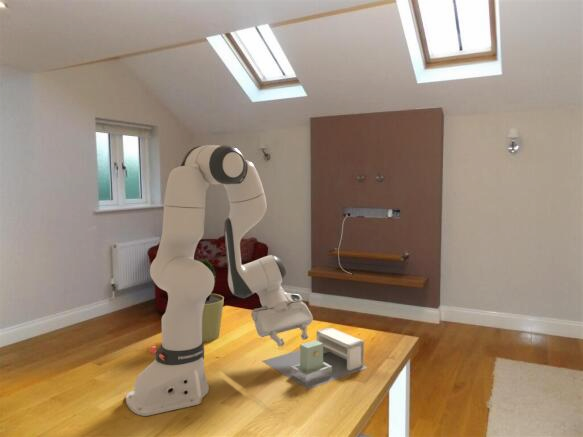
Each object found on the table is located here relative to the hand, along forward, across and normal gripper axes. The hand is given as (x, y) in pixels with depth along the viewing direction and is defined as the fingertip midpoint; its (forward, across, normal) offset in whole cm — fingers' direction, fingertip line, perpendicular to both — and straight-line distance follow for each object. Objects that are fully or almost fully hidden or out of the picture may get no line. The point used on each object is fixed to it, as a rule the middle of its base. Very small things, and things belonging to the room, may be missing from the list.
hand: (294, 342), depth 145 cm
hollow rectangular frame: (+12, 0, -1) cm, 12 cm away
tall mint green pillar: (+12, 0, -1) cm, 12 cm away
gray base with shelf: (+8, +6, +4) cm, 11 cm away
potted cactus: (-24, -10, +37) cm, 45 cm away
